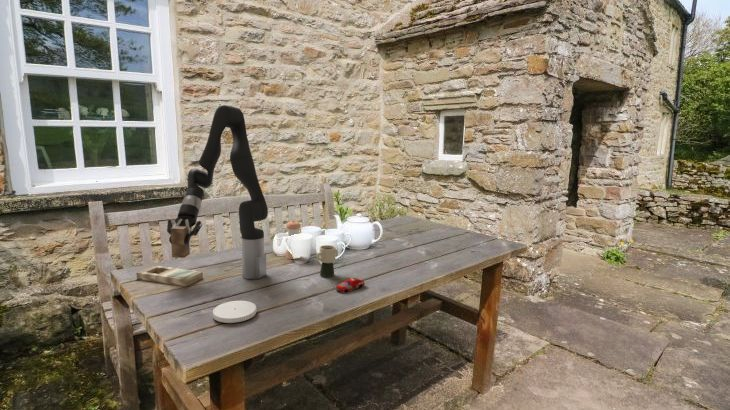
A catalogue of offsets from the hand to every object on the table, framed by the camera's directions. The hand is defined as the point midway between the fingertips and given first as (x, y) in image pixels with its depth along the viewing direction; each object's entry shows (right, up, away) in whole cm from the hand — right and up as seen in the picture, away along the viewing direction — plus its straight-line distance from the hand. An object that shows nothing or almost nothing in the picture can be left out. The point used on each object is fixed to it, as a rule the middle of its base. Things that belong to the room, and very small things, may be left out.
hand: (178, 243), depth 158 cm
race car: (+69, -19, +2) cm, 72 cm away
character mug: (+58, -16, +16) cm, 63 cm away
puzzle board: (-6, -16, +6) cm, 18 cm away
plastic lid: (+31, -23, -25) cm, 46 cm away
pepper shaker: (+39, -11, +40) cm, 57 cm away
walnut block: (0, -5, +3) cm, 6 cm away
